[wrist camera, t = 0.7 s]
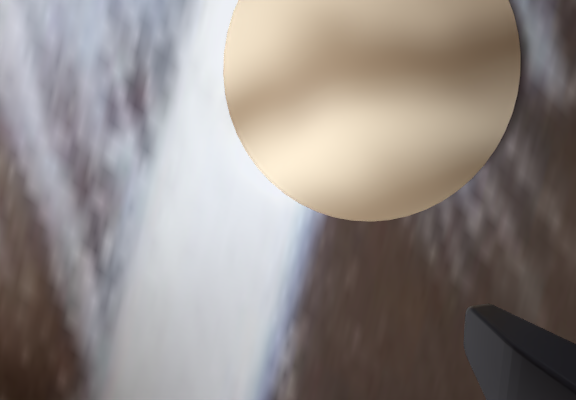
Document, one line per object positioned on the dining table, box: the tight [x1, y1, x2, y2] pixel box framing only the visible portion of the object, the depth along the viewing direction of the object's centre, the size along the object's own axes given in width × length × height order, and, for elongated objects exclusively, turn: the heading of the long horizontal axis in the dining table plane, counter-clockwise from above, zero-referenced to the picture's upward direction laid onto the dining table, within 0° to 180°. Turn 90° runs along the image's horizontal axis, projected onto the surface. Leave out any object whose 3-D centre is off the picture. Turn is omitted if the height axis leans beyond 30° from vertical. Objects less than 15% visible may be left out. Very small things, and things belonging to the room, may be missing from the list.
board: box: [223, 0, 521, 221], centre depth 21 cm, size 14×14×1 cm
